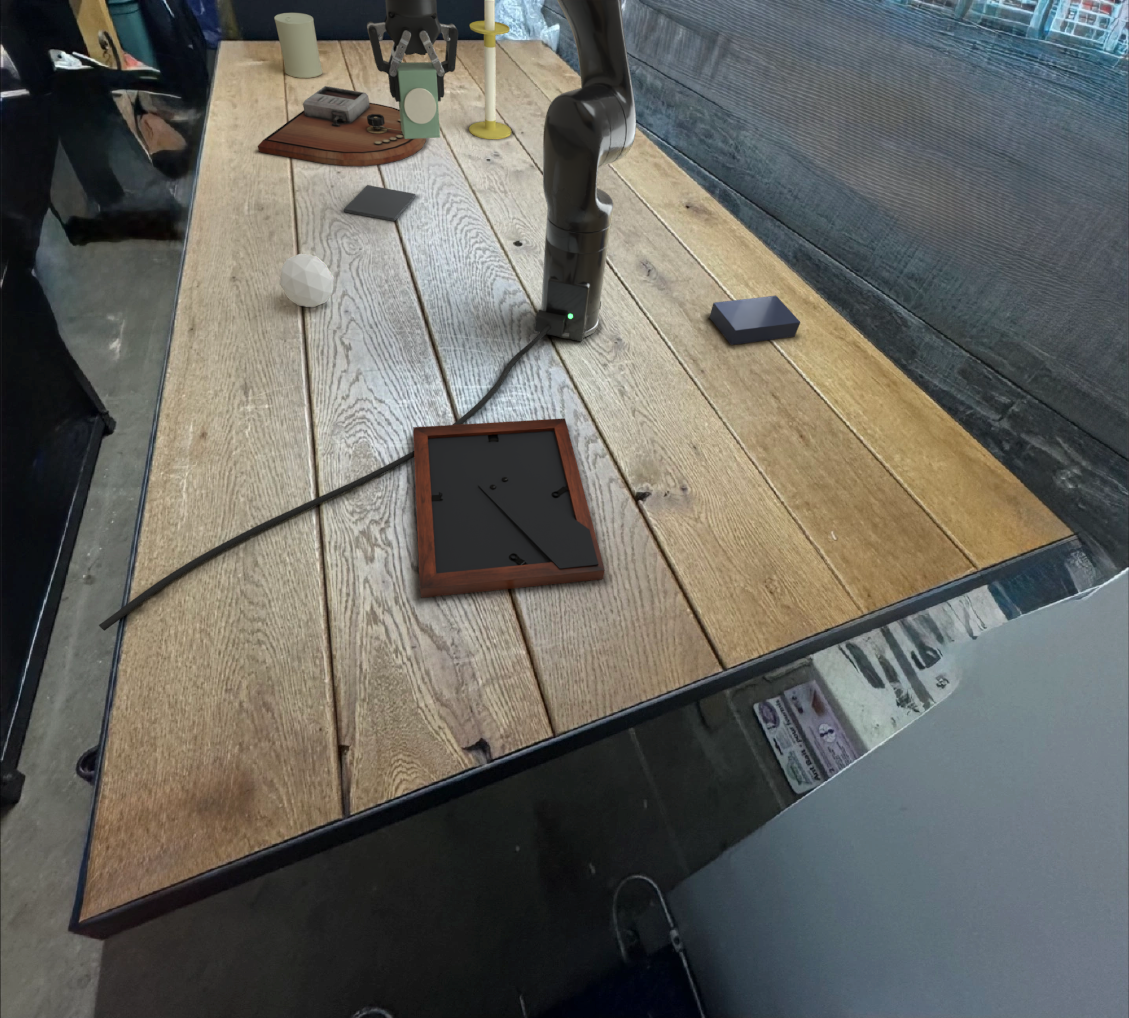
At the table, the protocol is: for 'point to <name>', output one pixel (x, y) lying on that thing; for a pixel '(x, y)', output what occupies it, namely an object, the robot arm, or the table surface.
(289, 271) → the geometric ball
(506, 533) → the picture frame
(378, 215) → the felt pad
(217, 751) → the table surface
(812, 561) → the table surface
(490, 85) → the cream and yellow pole
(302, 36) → the can
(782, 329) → the rectangular block
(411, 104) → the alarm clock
